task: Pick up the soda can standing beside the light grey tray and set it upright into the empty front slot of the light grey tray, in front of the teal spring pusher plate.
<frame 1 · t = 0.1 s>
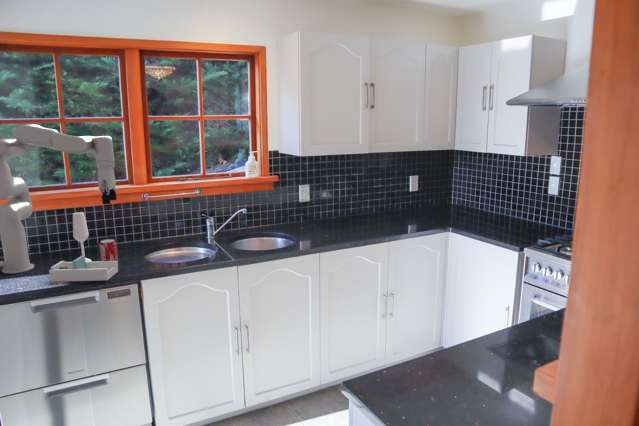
hand: (109, 202, 211), 31 cm above the counter, tool pointing down, fingers open, 9 cm apart
pusher plate: (79, 266, 204), point 5 cm above the counter, slide at 0.0 cm
soda can: (110, 268, 217), on the counter
light grey tray: (85, 276, 205), on the counter
champagne flute: (84, 261, 227), on the counter
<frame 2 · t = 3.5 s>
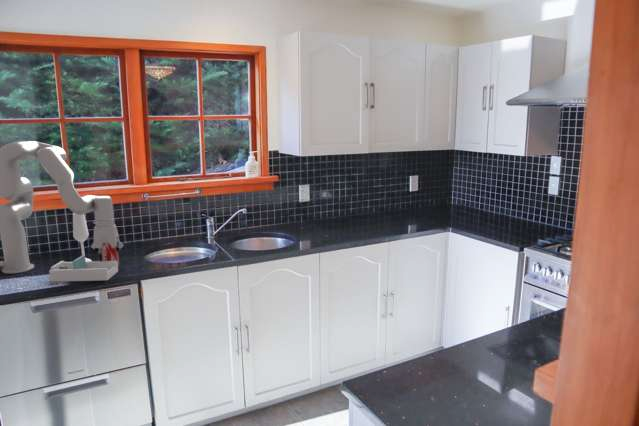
hand: (108, 260, 216), 3 cm above the counter, tool pointing down, fingers closed on soda can, 4 cm apart
soda can: (111, 267, 217), on the counter, touching gripper
everything else where it was.
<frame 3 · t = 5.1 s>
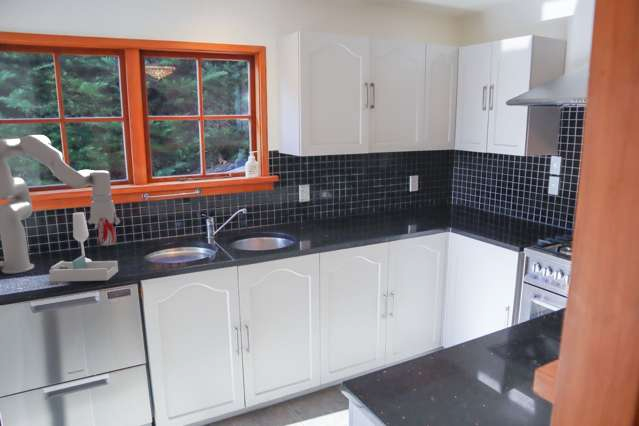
hand: (105, 236, 214), 15 cm above the counter, tool pointing down, fingers closed on soda can, 4 cm apart
soda can: (107, 244, 215), point 11 cm above the counter, touching gripper
everything else where it was.
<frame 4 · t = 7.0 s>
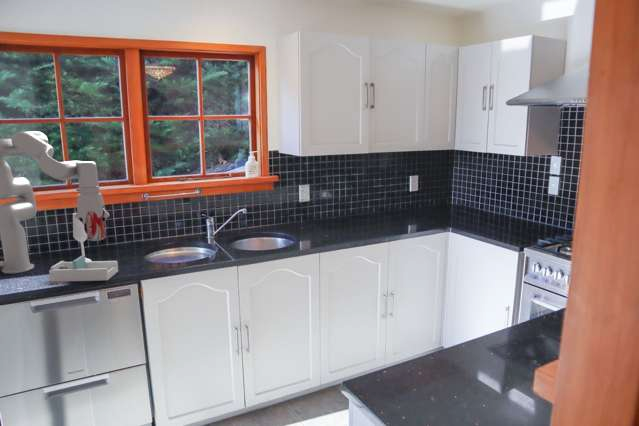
hand: (94, 232, 201), 20 cm above the counter, tool pointing down, fingers closed on soda can, 4 cm apart
soda can: (97, 239, 202), point 16 cm above the counter, touching gripper
everything else where it was.
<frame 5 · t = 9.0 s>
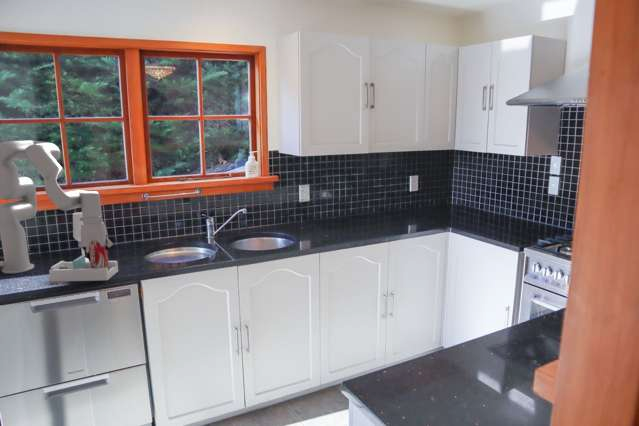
hand: (97, 260, 204), 7 cm above the counter, tool pointing down, fingers closed on soda can, 4 cm apart
soda can: (100, 268, 204), point 4 cm above the counter, touching gripper
everything else where it was.
when the fingers open (6 cm above the counter, at t = 10.2 s): soda can drops 1 cm, resting on light grey tray.
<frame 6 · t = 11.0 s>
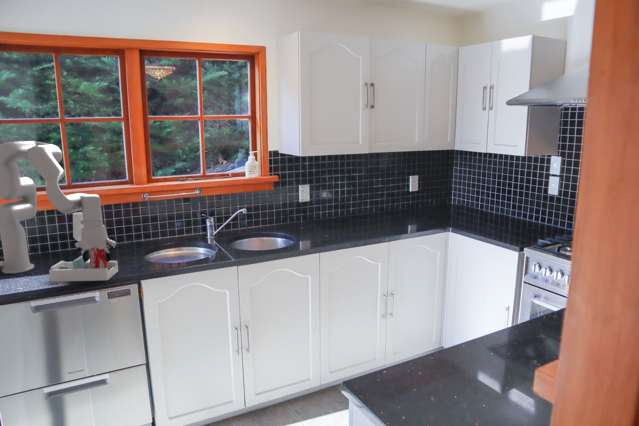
hand: (97, 261, 204), 7 cm above the counter, tool pointing down, fingers open, 9 cm apart
soda can: (100, 274, 205), point 1 cm above the counter, touching light grey tray
everything else where it was.
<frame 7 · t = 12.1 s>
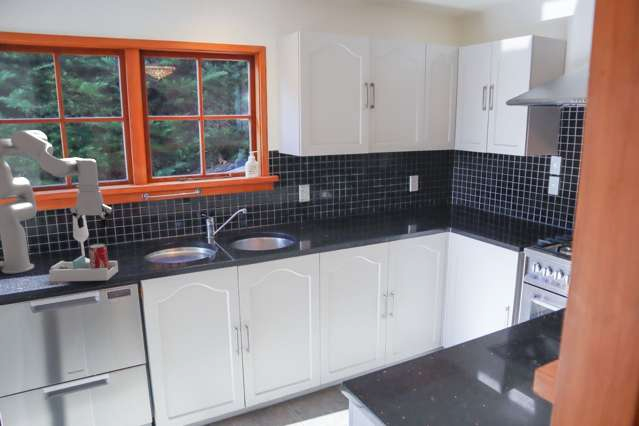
hand: (92, 227, 201), 22 cm above the counter, tool pointing down, fingers open, 9 cm apart
nothing on the counter moved.
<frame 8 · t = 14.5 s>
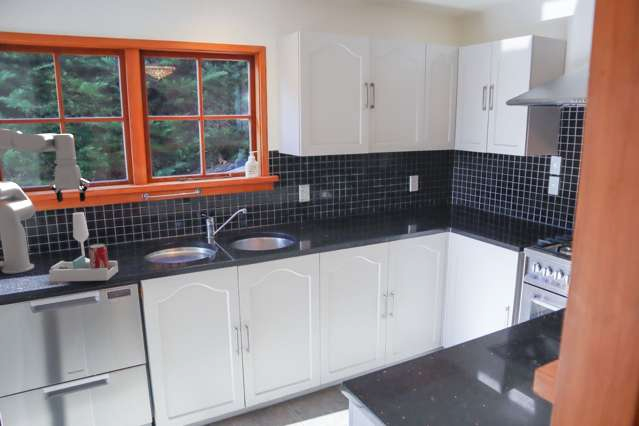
hand: (71, 201, 206), 32 cm above the counter, tool pointing down, fingers open, 9 cm apart
nothing on the counter moved.
at the end: soda can 1.0 cm from the target spot on the light grey tray, point 0.8 cm above the light grey tray's base; soda can tilted 0°; the gripper is holding nothing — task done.
